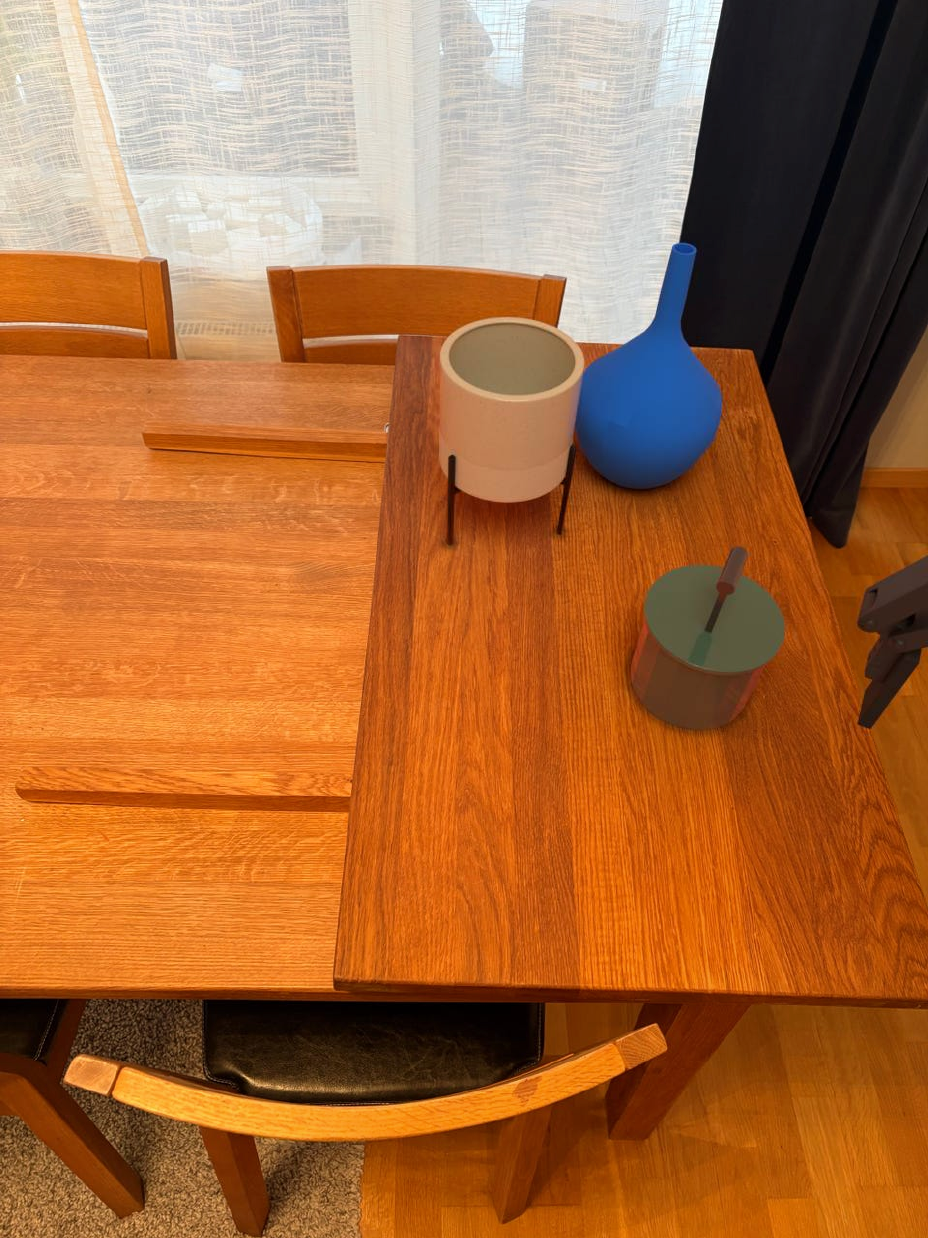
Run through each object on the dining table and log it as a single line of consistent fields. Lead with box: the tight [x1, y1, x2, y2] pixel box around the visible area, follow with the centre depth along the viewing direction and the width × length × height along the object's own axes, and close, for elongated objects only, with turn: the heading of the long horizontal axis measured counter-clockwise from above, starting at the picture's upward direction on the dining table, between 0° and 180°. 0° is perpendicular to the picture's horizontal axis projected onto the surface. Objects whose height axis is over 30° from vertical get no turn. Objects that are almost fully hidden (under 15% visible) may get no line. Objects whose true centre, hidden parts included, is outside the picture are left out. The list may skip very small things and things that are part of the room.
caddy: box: [630, 619, 766, 731], centre depth 88 cm, size 12×12×10 cm
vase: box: [574, 242, 723, 490], centre depth 103 cm, size 18×18×30 cm
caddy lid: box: [643, 545, 786, 675], centre depth 81 cm, size 14×14×8 cm
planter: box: [438, 316, 585, 546], centre depth 99 cm, size 15×16×23 cm
